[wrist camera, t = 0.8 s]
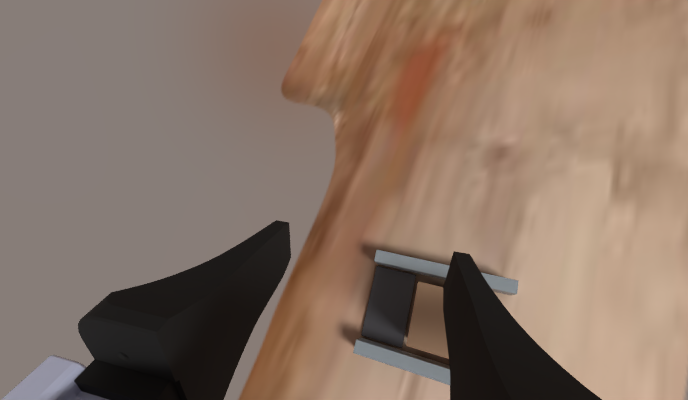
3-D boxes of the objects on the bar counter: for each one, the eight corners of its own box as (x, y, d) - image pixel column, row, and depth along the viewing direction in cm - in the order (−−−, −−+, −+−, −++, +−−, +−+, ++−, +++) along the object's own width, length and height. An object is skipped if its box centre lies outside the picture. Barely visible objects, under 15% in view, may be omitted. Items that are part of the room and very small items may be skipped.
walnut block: (474, 358, 24) (484, 370, 20) (410, 339, 26) (406, 345, 21) (481, 301, 25) (493, 299, 21) (419, 286, 27) (418, 281, 22)
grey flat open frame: (499, 396, 23) (505, 404, 21) (358, 349, 26) (353, 352, 25) (511, 282, 25) (518, 280, 23) (380, 253, 29) (376, 249, 27)
